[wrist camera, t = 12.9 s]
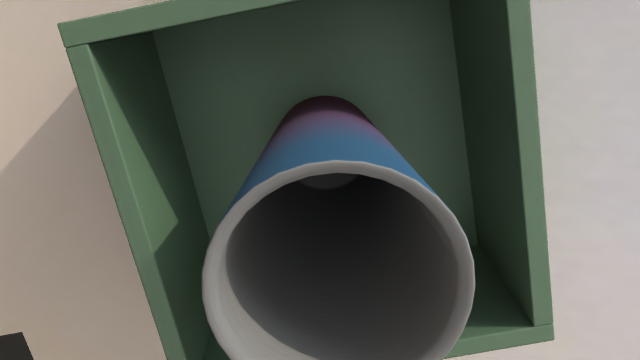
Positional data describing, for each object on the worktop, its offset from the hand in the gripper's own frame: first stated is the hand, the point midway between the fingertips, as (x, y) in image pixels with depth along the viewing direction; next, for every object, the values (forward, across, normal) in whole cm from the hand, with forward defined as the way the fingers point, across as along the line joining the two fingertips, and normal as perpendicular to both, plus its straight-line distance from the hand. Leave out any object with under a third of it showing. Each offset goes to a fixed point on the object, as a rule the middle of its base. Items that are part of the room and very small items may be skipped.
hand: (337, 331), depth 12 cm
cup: (+17, 0, 0) cm, 17 cm away
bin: (+18, 0, 0) cm, 18 cm away
